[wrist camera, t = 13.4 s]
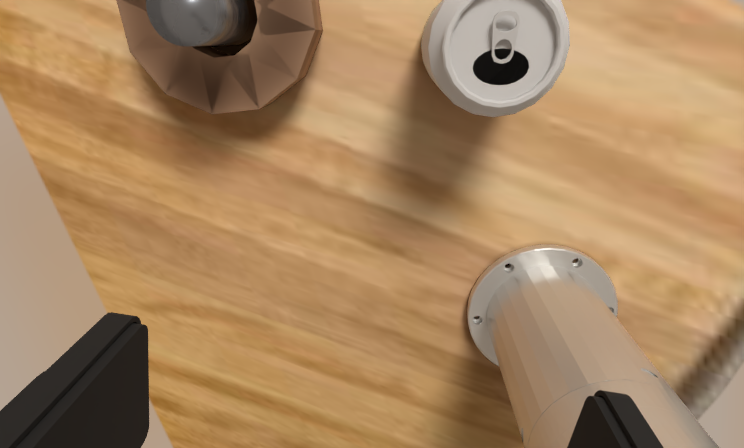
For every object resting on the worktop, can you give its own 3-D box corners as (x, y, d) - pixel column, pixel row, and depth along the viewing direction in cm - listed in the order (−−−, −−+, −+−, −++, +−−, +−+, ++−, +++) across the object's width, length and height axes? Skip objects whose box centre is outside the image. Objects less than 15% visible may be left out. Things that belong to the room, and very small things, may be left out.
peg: (269, 22, 36) (230, 16, 28) (229, 56, 37) (180, 60, 29) (233, -27, 35) (181, -48, 27) (193, 9, 36) (131, 0, 28)
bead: (355, 35, 36) (351, 35, 33) (226, 138, 39) (210, 148, 36) (238, -133, 33) (221, -152, 30) (107, -5, 36) (79, -10, 33)
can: (419, 97, 38) (428, 122, 26) (421, -12, 35) (432, -35, 24) (519, 96, 37) (571, 121, 26) (528, -14, 35) (591, -39, 23)
